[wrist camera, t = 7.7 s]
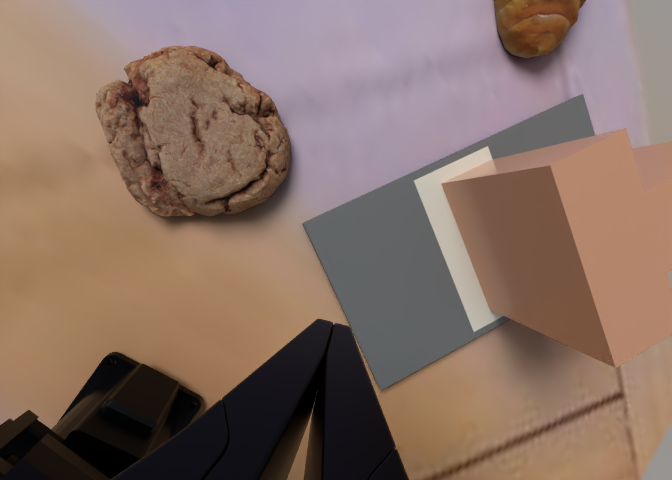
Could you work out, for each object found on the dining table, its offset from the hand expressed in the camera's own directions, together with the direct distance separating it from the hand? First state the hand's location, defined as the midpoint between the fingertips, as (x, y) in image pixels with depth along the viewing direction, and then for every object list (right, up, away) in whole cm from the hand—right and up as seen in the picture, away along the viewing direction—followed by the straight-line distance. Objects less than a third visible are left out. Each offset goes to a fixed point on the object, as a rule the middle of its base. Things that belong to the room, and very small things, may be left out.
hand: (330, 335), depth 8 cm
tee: (+15, +4, +15) cm, 22 cm away
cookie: (-8, +9, +12) cm, 17 cm away
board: (+11, +3, +16) cm, 19 cm away
